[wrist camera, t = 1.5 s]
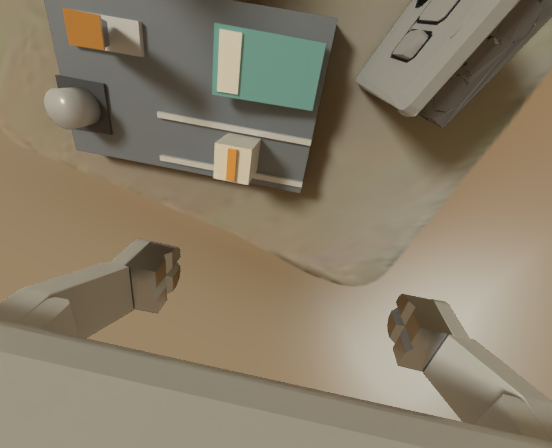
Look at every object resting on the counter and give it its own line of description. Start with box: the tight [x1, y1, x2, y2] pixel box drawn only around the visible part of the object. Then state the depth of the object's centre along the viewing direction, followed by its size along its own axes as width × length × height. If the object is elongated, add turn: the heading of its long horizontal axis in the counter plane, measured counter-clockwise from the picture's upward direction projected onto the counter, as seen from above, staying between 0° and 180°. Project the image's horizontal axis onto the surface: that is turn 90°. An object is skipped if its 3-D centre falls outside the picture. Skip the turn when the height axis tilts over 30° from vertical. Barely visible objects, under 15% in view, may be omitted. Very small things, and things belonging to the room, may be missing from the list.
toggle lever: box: [62, 8, 110, 50], centre depth 19 cm, size 2×2×6 cm
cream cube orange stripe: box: [213, 133, 261, 185], centre depth 24 cm, size 3×3×4 cm
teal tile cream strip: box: [212, 23, 326, 111], centre depth 21 cm, size 8×5×1 cm, turn 81°
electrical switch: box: [356, 0, 552, 128], centre depth 19 cm, size 9×5×9 cm, turn 146°
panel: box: [44, 0, 338, 193], centre depth 25 cm, size 14×23×3 cm, turn 81°
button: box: [44, 87, 101, 130], centre depth 24 cm, size 3×3×2 cm
